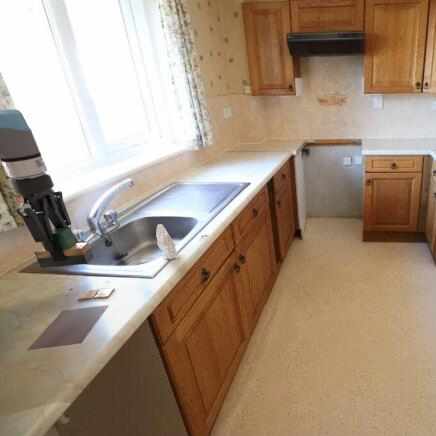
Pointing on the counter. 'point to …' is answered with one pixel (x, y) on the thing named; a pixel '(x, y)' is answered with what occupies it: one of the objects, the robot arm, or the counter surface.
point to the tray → (69, 327)
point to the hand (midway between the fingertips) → (65, 256)
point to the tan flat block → (88, 295)
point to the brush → (65, 250)
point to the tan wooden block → (103, 293)
